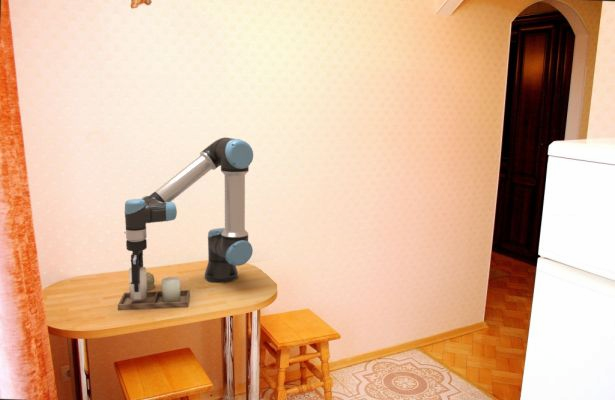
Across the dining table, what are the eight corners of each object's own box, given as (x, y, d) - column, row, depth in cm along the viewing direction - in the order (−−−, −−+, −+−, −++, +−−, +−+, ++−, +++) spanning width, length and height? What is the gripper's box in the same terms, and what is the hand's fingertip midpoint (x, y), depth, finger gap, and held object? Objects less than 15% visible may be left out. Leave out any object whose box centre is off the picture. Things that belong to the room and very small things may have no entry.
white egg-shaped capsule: (181, 297, 213) (180, 276, 211) (179, 304, 206) (179, 282, 205) (163, 298, 212) (162, 277, 210) (161, 305, 205) (160, 283, 204)
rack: (189, 297, 217) (189, 290, 216) (187, 309, 204) (187, 302, 203) (124, 299, 213) (124, 292, 212) (118, 312, 200) (117, 305, 199)
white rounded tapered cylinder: (148, 294, 210) (147, 266, 208) (145, 300, 204) (144, 271, 202) (131, 295, 209) (130, 266, 207) (128, 301, 203) (127, 271, 201)
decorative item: (140, 302, 220) (153, 285, 217) (122, 287, 220) (135, 270, 218) (151, 295, 229) (163, 278, 226) (134, 280, 229) (146, 264, 227)
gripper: (130, 233, 211) (132, 287, 215) (121, 246, 192) (124, 305, 197) (149, 232, 212) (151, 286, 217) (142, 245, 194) (145, 304, 198)
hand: (138, 295), depth 207 cm, fingers closed on white rounded tapered cylinder, 6 cm apart
